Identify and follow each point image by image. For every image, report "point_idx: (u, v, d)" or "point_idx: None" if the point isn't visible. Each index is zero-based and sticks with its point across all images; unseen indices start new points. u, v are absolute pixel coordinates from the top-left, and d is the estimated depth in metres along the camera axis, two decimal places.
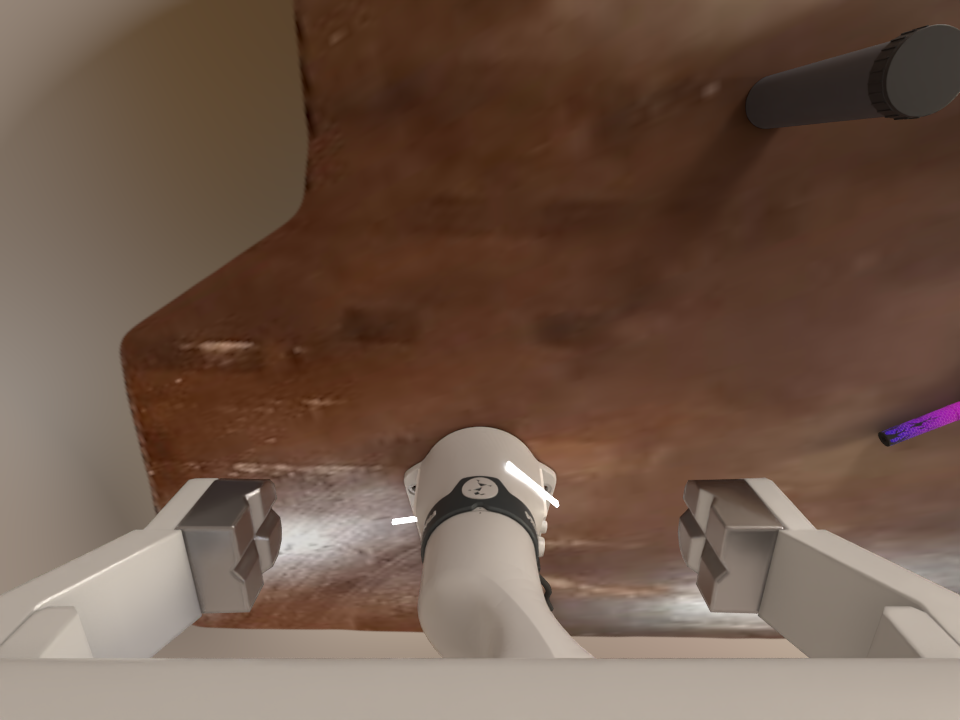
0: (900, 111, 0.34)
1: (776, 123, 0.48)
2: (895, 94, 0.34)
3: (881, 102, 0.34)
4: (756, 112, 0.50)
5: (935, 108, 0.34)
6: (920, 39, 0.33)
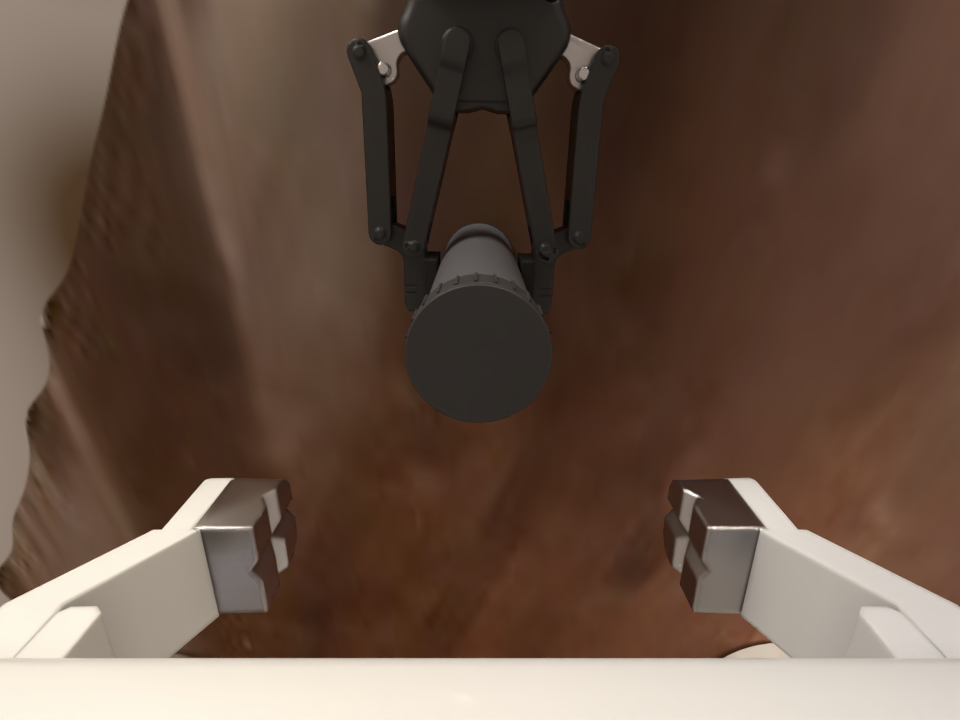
0: (523, 407, 0.19)
1: None
2: (491, 411, 0.19)
3: None
4: None
5: (545, 353, 0.18)
6: (420, 363, 0.19)
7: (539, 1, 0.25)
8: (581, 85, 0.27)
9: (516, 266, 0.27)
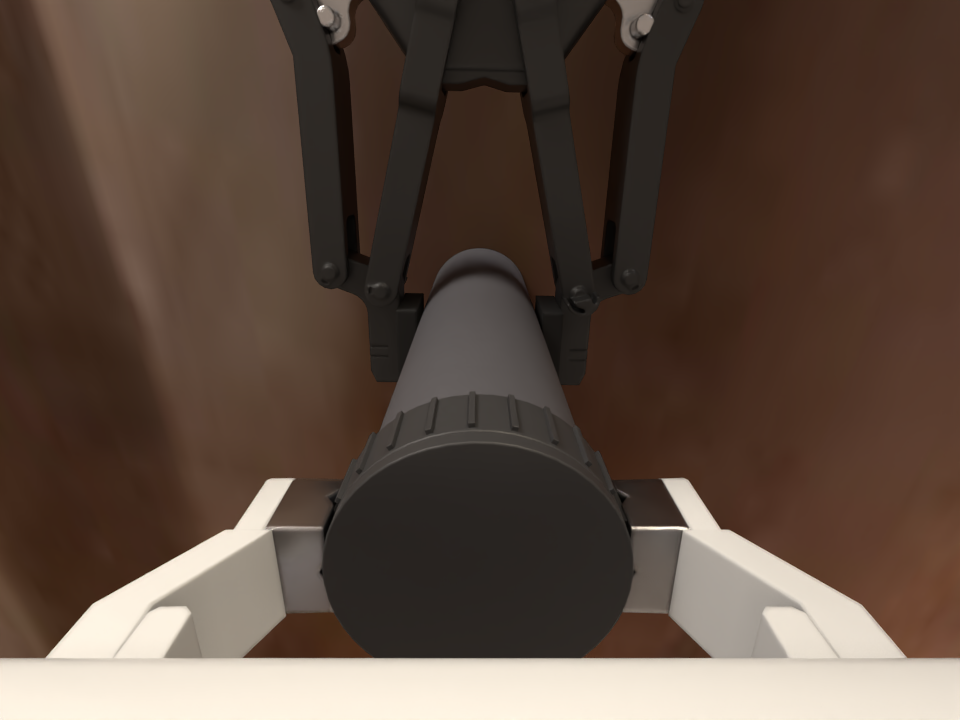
0: None
1: None
2: None
3: None
4: None
5: (619, 571, 0.09)
6: (356, 591, 0.09)
7: None
8: (638, 44, 0.17)
9: (538, 329, 0.17)
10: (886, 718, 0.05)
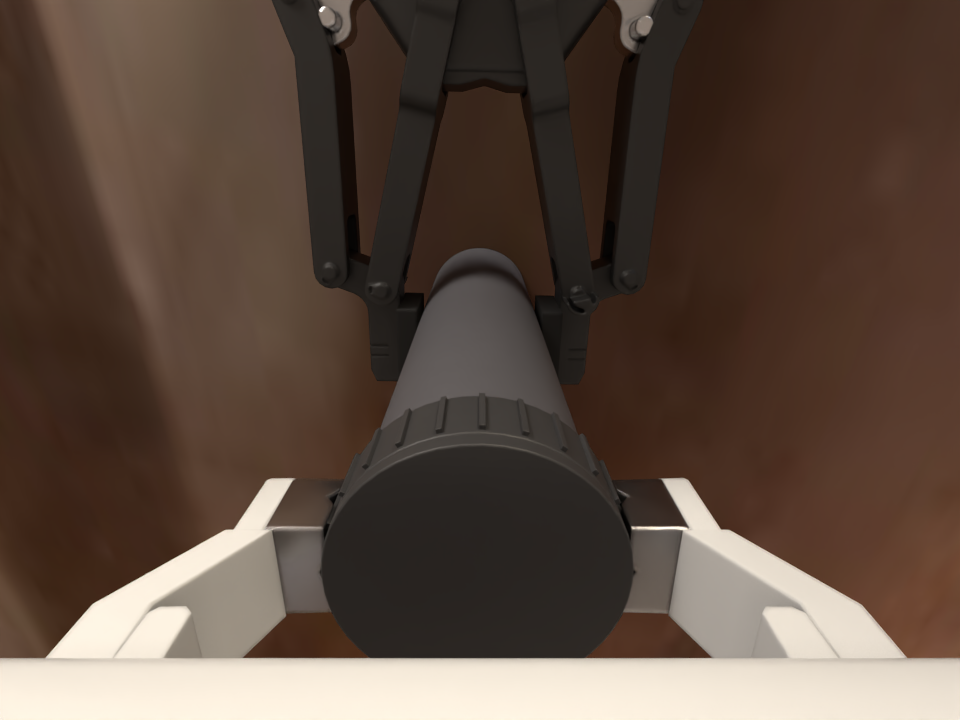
0: (632, 569, 0.09)
1: None
2: (596, 617, 0.09)
3: None
4: None
5: (555, 476, 0.08)
6: None
7: None
8: (637, 45, 0.17)
9: (537, 328, 0.17)
10: (886, 718, 0.05)
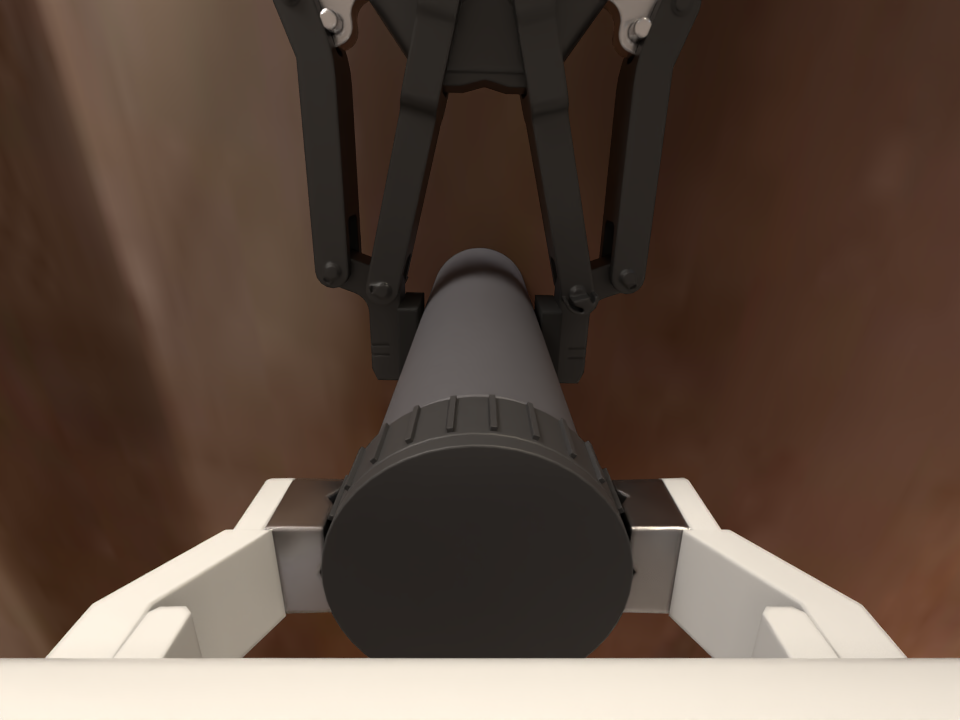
0: (556, 465, 0.08)
1: None
2: (589, 520, 0.08)
3: (596, 471, 0.09)
4: None
5: (410, 471, 0.08)
6: None
7: None
8: (636, 46, 0.18)
9: (537, 327, 0.17)
10: (886, 718, 0.05)
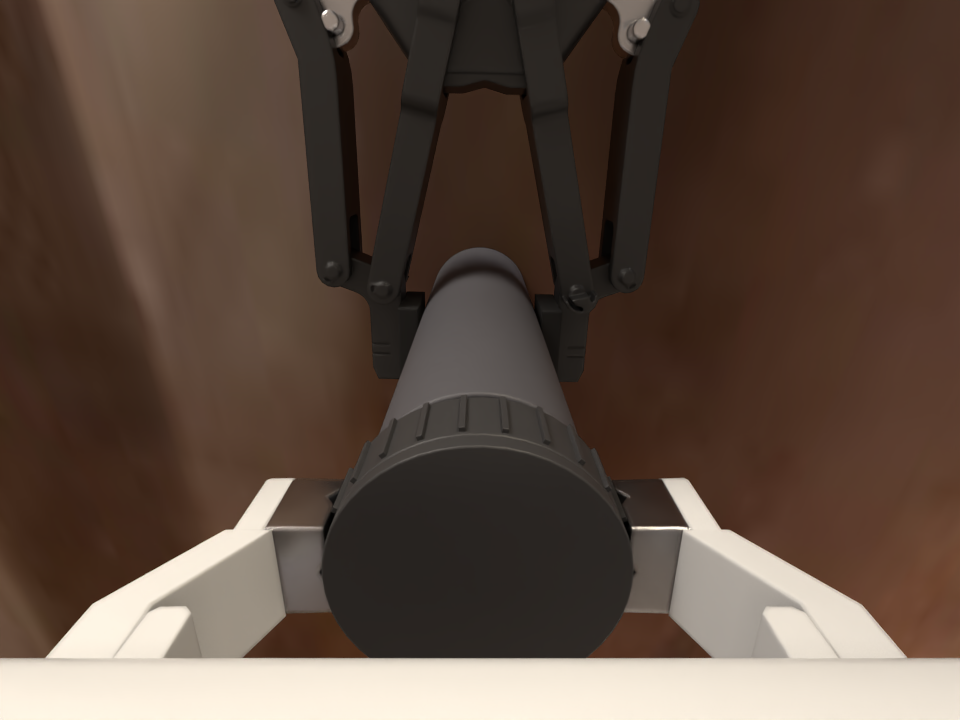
0: (398, 465, 0.08)
1: None
2: (474, 470, 0.08)
3: (463, 421, 0.09)
4: None
5: (335, 565, 0.09)
6: (600, 590, 0.09)
7: None
8: (635, 47, 0.18)
9: (537, 326, 0.17)
10: (886, 718, 0.05)
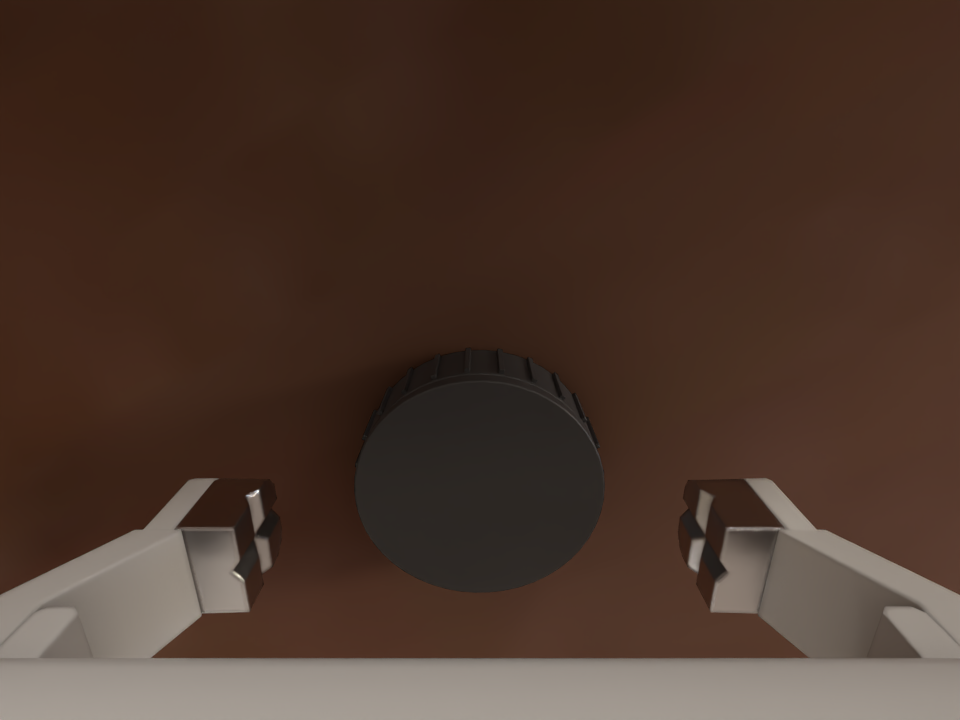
0: (417, 397, 0.10)
1: None
2: (477, 401, 0.10)
3: (468, 365, 0.11)
4: None
5: (365, 481, 0.11)
6: (578, 502, 0.11)
7: None
8: None
9: None
10: (886, 718, 0.05)
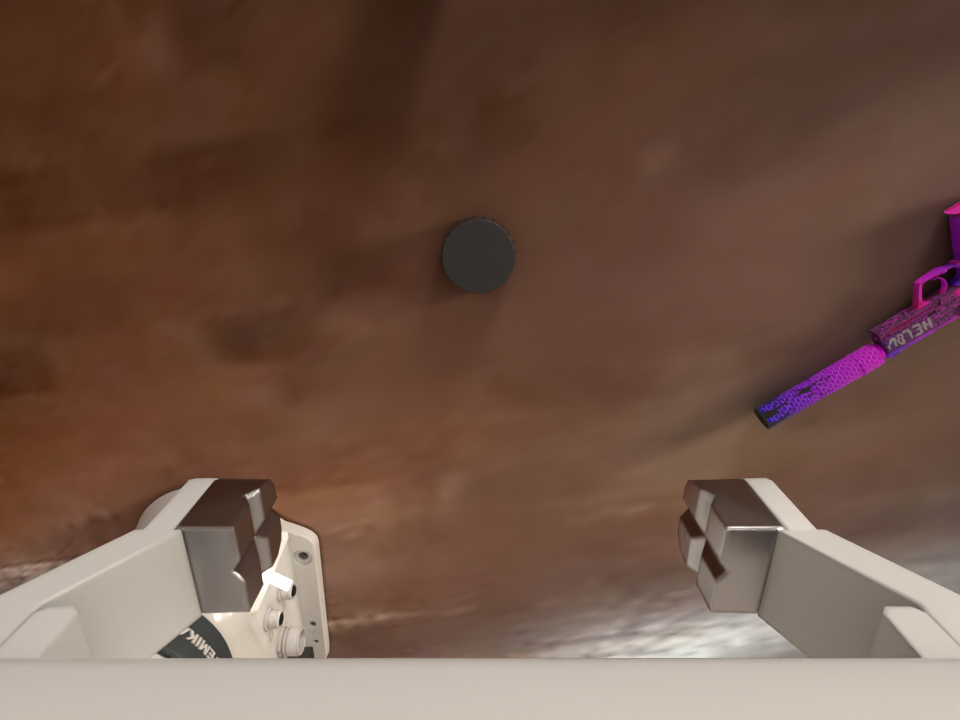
0: (461, 224, 0.36)
1: None
2: (477, 225, 0.36)
3: (475, 218, 0.37)
4: None
5: (445, 252, 0.37)
6: (507, 259, 0.37)
7: None
8: None
9: None
10: (886, 718, 0.05)
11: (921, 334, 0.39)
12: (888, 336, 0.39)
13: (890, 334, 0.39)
